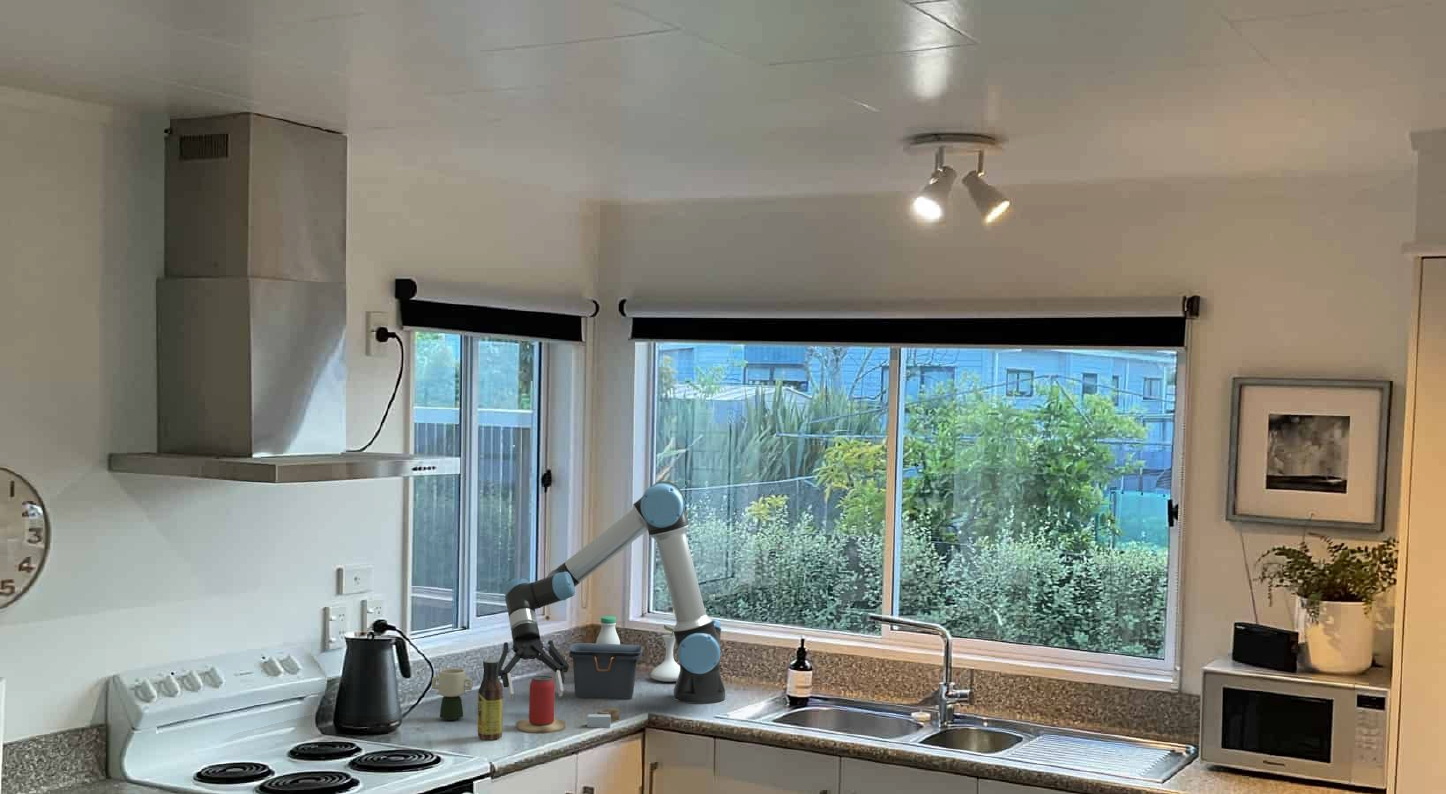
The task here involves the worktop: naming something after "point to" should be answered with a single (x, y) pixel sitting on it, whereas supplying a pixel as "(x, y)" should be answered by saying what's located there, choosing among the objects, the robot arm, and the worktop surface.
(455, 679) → the character mug
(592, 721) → the grey-blue block
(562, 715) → the worktop surface
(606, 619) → the milk bottle
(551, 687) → the beer can
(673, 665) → the flower in vase
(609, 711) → the walnut block
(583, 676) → the storage bin
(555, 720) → the trivet
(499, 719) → the sauce bottle
